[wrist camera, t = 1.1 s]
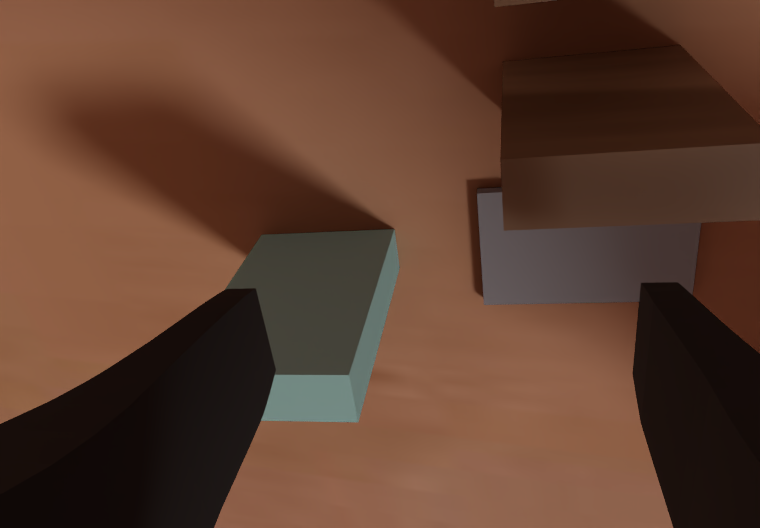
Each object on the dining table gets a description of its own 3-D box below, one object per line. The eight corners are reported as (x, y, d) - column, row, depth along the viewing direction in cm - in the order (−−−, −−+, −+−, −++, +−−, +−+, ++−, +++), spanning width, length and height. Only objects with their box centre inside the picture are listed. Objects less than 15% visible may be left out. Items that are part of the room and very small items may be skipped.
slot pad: (689, 294, 23) (691, 301, 23) (484, 298, 24) (484, 304, 24) (703, 176, 21) (706, 181, 20) (477, 188, 22) (476, 193, 22)
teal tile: (399, 267, 24) (358, 422, 18) (270, 271, 25) (184, 418, 19) (394, 228, 24) (349, 374, 17) (261, 234, 25) (168, 374, 18)
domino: (675, 99, 20) (763, 220, 13) (504, 113, 21) (503, 230, 14) (680, 45, 19) (776, 142, 12) (502, 61, 20) (500, 159, 13)
